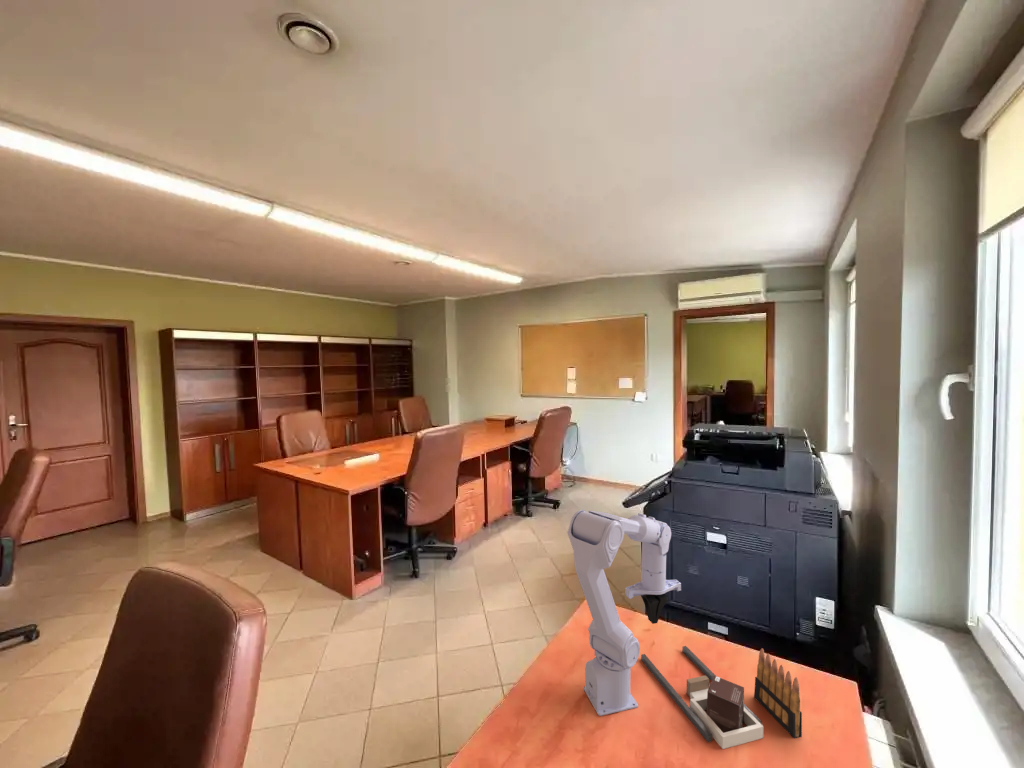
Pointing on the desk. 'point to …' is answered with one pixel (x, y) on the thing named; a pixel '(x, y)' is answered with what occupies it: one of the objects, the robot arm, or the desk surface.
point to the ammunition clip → (778, 694)
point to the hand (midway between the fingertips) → (652, 621)
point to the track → (676, 696)
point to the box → (725, 704)
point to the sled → (698, 704)
